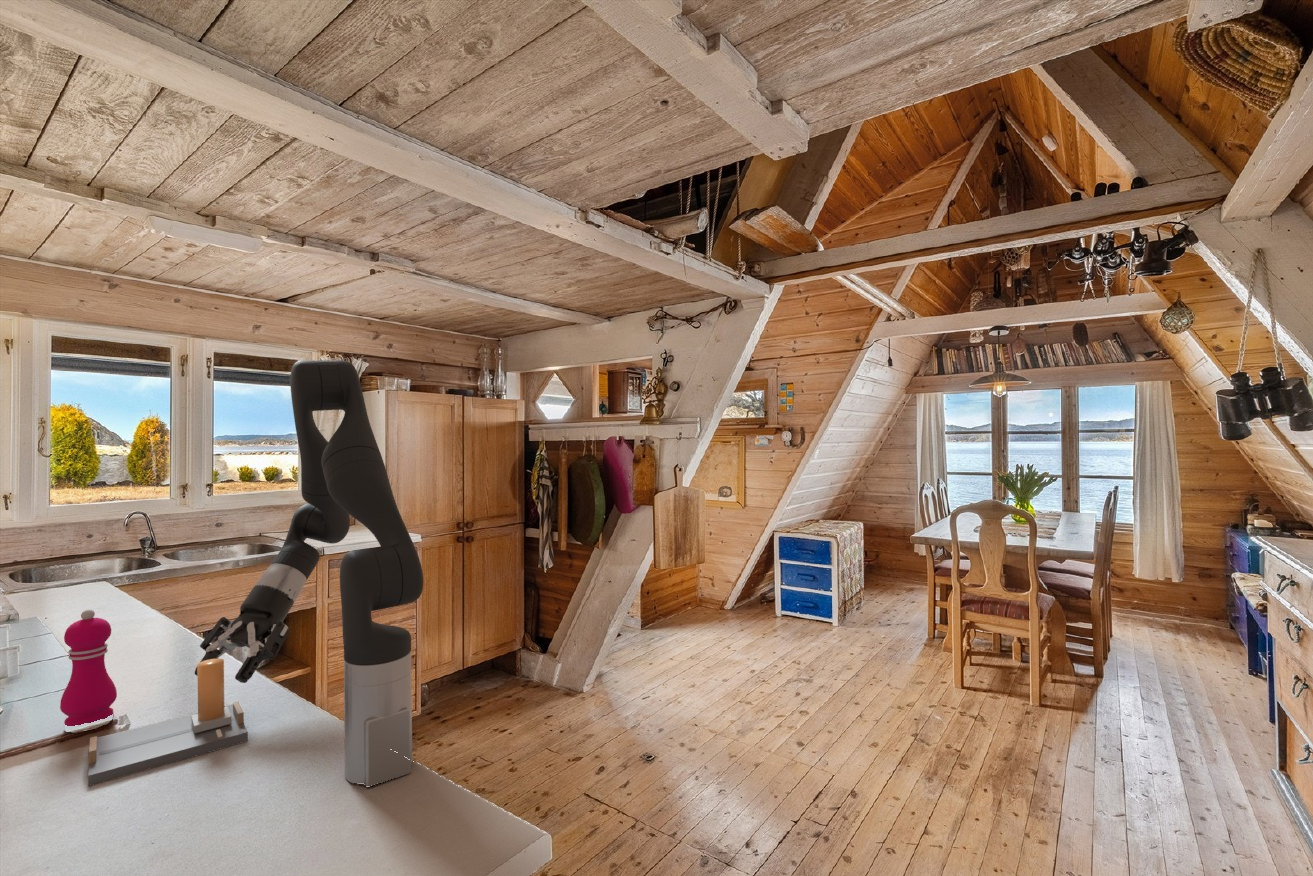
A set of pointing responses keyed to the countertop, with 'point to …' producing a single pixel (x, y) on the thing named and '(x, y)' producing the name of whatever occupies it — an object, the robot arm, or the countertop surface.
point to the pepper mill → (88, 672)
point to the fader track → (159, 745)
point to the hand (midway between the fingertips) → (219, 678)
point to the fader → (210, 697)
